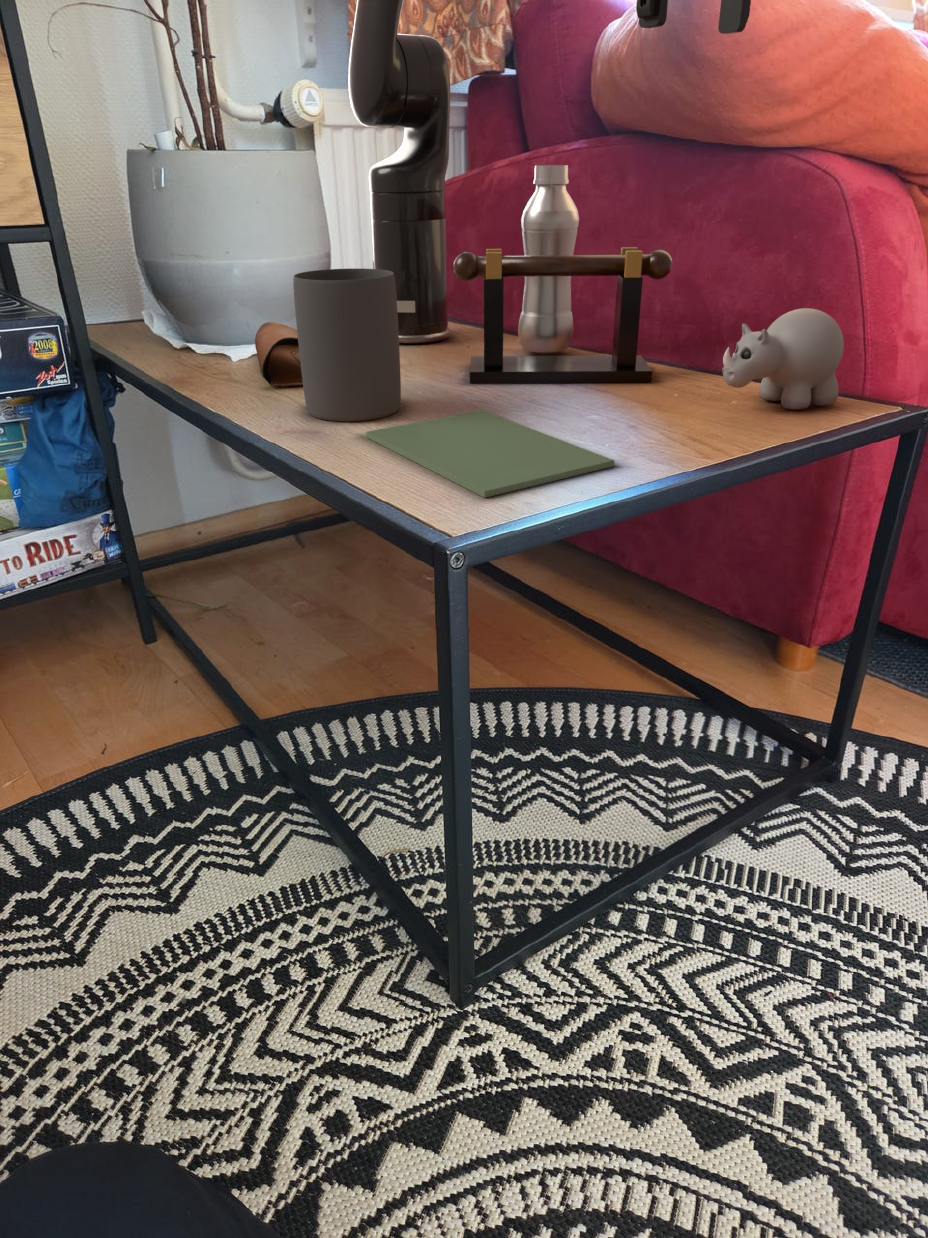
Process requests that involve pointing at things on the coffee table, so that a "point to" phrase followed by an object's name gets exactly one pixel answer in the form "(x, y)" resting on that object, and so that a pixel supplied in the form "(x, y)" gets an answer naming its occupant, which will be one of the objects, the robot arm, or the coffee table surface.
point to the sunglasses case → (279, 355)
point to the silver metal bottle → (548, 233)
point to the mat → (488, 452)
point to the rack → (564, 368)
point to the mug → (348, 343)
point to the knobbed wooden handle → (562, 265)
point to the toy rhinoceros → (790, 359)
